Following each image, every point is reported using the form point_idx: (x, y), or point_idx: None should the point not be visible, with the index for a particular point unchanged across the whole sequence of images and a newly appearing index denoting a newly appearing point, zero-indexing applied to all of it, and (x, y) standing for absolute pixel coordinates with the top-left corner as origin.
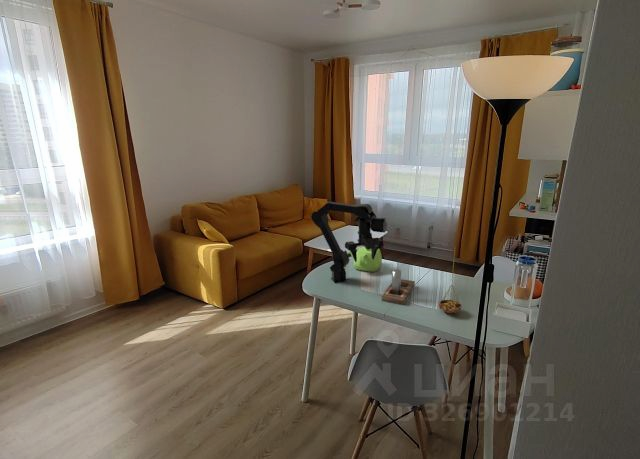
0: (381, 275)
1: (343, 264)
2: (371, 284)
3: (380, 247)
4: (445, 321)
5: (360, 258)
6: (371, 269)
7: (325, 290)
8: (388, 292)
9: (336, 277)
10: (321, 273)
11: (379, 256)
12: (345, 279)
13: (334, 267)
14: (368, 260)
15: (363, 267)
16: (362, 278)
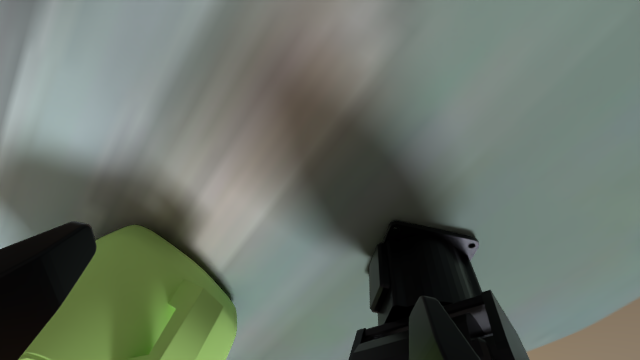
0: (115, 167)
1: (489, 349)
2: (257, 80)
3: None
4: None
5: (191, 358)
6: (153, 244)
7: (635, 186)
8: None
9: (464, 270)
10: None
11: None
12: (387, 236)
13: (523, 355)
14: (132, 315)
15: (196, 284)
16: (263, 198)
